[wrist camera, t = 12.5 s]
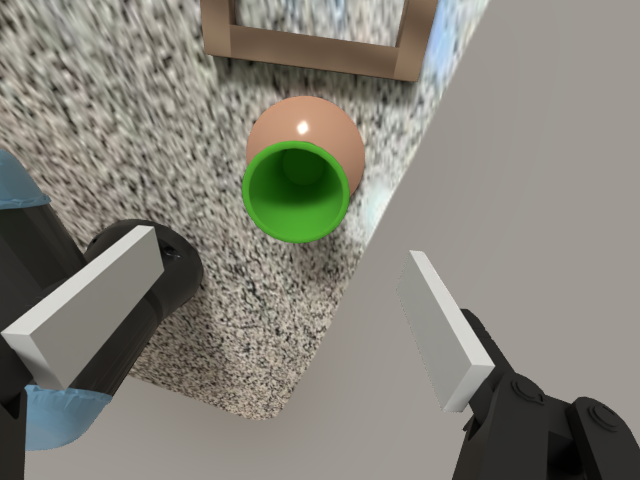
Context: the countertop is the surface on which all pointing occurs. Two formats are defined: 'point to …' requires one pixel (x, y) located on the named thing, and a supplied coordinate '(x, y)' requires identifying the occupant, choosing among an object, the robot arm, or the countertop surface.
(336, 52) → the frame
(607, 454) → the robot arm
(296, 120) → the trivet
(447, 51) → the countertop surface
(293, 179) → the cup
